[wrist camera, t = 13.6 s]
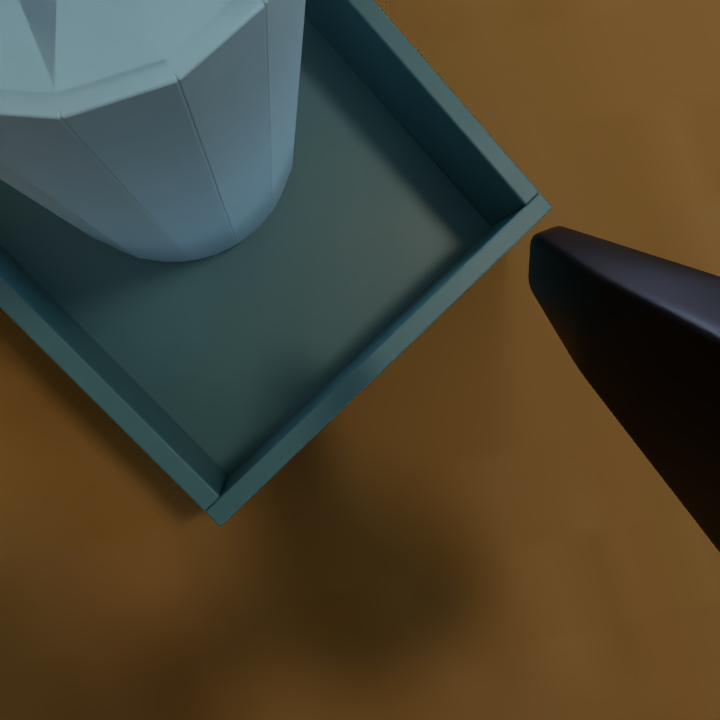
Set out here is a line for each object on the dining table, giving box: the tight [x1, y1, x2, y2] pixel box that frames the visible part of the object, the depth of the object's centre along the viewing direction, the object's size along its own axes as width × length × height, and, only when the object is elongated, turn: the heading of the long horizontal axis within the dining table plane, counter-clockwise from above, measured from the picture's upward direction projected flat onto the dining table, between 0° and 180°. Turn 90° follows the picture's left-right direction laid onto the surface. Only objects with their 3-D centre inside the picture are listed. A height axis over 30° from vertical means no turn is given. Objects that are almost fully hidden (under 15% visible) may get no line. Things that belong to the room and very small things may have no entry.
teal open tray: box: [0, 0, 552, 526], centre depth 15 cm, size 16×11×3 cm
